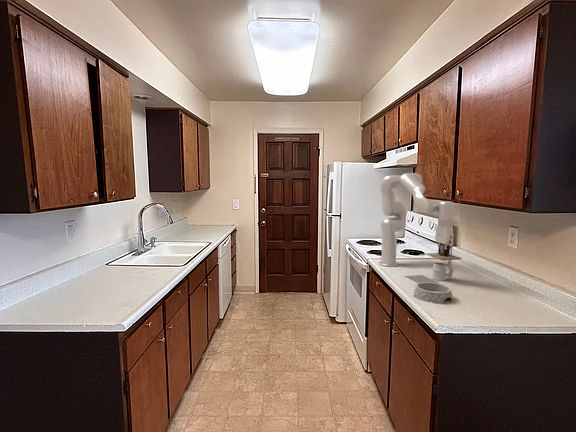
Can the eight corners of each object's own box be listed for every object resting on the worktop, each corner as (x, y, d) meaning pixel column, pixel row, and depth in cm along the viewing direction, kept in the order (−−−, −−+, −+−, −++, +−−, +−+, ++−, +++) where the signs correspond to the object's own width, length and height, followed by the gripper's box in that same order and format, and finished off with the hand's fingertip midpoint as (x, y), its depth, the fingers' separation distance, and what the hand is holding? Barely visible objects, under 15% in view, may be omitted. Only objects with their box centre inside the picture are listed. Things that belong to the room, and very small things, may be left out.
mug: (429, 278, 200) (430, 258, 198) (448, 278, 200) (449, 258, 199) (435, 282, 192) (436, 261, 191) (455, 282, 193) (457, 261, 192)
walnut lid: (426, 254, 200) (427, 243, 199) (444, 253, 203) (445, 242, 202) (442, 260, 187) (443, 248, 186) (461, 259, 189) (462, 247, 189)
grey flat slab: (404, 277, 201) (404, 276, 201) (422, 276, 204) (422, 274, 204) (420, 286, 186) (420, 284, 186) (439, 284, 189) (439, 283, 188)
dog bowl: (460, 299, 167) (460, 288, 166) (435, 306, 158) (435, 295, 157) (430, 289, 182) (430, 279, 181) (406, 295, 173) (406, 284, 172)
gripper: (430, 221, 200) (428, 252, 202) (449, 225, 184) (447, 258, 186) (441, 221, 202) (439, 251, 204) (461, 225, 185) (459, 258, 187)
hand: (443, 254), depth 195 cm, fingers closed on walnut lid, 4 cm apart
